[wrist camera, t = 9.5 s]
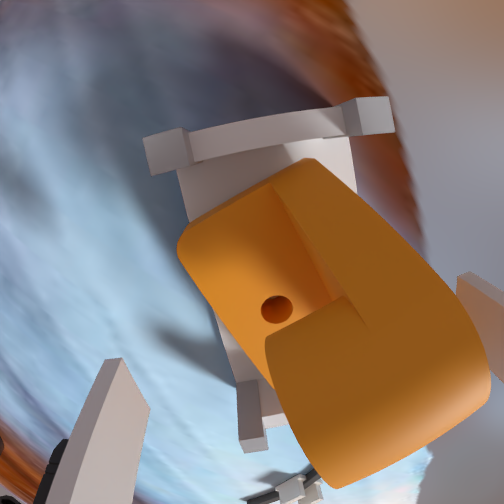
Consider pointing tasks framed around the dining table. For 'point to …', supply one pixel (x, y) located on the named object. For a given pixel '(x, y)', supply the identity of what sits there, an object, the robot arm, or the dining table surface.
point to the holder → (246, 175)
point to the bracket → (338, 320)
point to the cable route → (295, 491)
